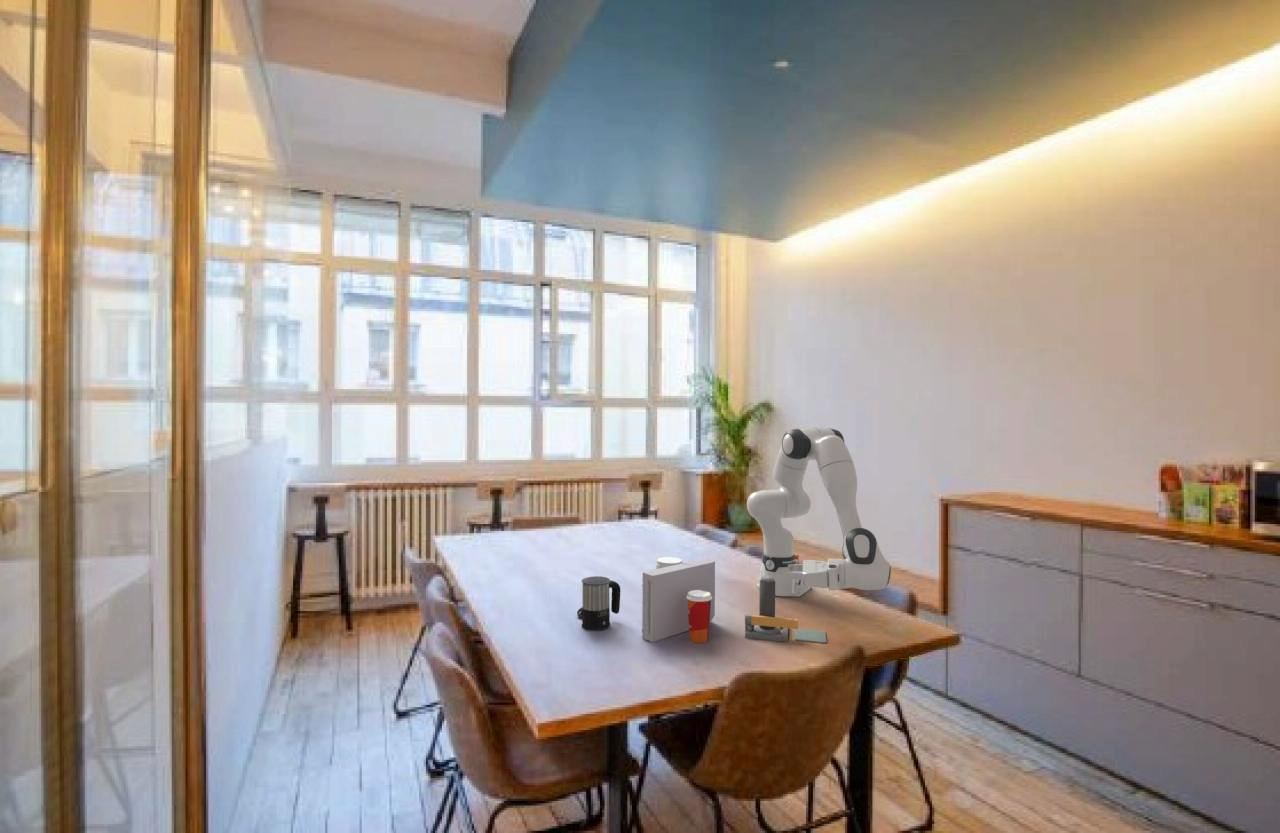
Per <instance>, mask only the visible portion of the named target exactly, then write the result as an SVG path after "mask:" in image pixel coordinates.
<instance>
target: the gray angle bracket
mask: <svg viewBox="0 0 1280 833" xmlns="http://www.w3.org/2000/svg"><path fill="white" fill-rule="evenodd" d="M752 628H754V625H752ZM780 629H782V634H781V633H780V634H769V633H759V632H754V631H752V632H751V631H745V630H744V638H747V639H748V638H749V639H754V640H755V639H757V640H758V639H759V640H764V641H765V640H768V641H776V642H777V641H778V642H788V639H789V638H788V636H789V635H788V634H789V628H781V627H780Z"/></svg>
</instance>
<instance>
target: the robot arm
mask: <svg viewBox="0 0 1280 833" xmlns="http://www.w3.org/2000/svg"><path fill="white" fill-rule="evenodd" d="M812 460H813V461H815V460H816V463H817V468H818V472H819V475H820V478H821V480H822V481H821V482H822V483H823V484H824V487H825V490H826V491H827V493H828V496H829V498H830V499H831V502H832V504H833V505H834V506H833V507H834V508H835V512H836V514H837V518H838V521H839V525H840V528H841V533H842V538H843V544H842V548H841V549H842V550H841V553H842V557H843V558H833V557H832V558H830V557H829V558H827V561H824V560H816V559H815V560H814V559H804V560H803V561H802V563H797V562H796V560H797V561H798V560H799V559H800V554H798V553H796V554H795V553H794V536H793V533H792V532H791V531H790V530H789V529H787V528H785V527H784V526H783V524H782V519H792V518H793V519H795V518H800V517H802V516H805V515H807V514H808V513H809V512H810V508H811V498H810V496H809V494H808V493H807V492H806V491H805V490H804V488H803V481H804V478H805V474H806V470H807V468H808V463H809V461H812ZM856 472H857V471H856V466H855V464H854V461H853V458H852V455H851V453H850V451H849V449H848V447H847V445H846V443H845V439H844V436H843V434H842V432H840V431H839V430H838V429H834V428H830V427H828V428H823V427H811V428H809V427H807V428H800V429H799V428H792V429H790V430H787V431H785V433H784V434H783V436H782V439H781V447H780V449H779V452H778V454H777V458H776V460H775V464H774V467H773V471H772V476H773V480H774V481H775V483H777V484H778V486H780V487H779V488H778V489H764V490H763V489H762V490H759V491H754V492H752V493H750V495H749V496H748V498H747V500H746V509H747V511H748V513H749V515H750V516H751V517H752V518H753V519H754V520H755V521H756V522H757V523H758V525H759V526H760V528H761V532H762V537H763V538H762V539H763V553H762V557H761V558H762V565H761V566H760V568H759V570H760V571H759V578H758V579H759V581H758V583H756V587H757V588H758V591H760V580H761V577H762V576H770V577H773V578H774V581H775V597H797V598H798V597H801V596H803V595H804V594H806V593H807V592H809V590H811V589H812V588H822V589H828V590H829V591H837V590H838V589H858V590H860V591H861V590H864V591H866V590H867V591H875V590H884V589H885V588H886V587H887V586H888V585H889V583H890V579H891V573H892V569H891V568H892V567H891V564H890V563H889V562H888V560H887V559H886V558H885V556H884V555H883V553H882V551H881V549H880V546H879V543H878V540H877V539H876V536H875V535H874V534H873V532H872V531H870V530H869V529H867V528H863V527H862V524H861V520H860V517H859V512H858V510H857V490H858V478H857V473H856Z"/></svg>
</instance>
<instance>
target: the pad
mask: <svg viewBox="0 0 1280 833" xmlns="http://www.w3.org/2000/svg"><path fill="white" fill-rule="evenodd" d="M794 630H795V631H794V633H795V634H794V635H795V636H794V637H795V638H794V640H795V641H798V642H807V643H809V642H810V643H819V644H827V635H826V631H825V630H813V629H803V628H798V629H794Z"/></svg>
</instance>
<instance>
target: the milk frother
mask: <svg viewBox="0 0 1280 833" xmlns="http://www.w3.org/2000/svg"><path fill="white" fill-rule="evenodd" d="M581 583H582V607H580V608H579V609H578V610H577V612H576V615H577V617H578V618H580V619H582V621H581V622H582V623H581V628H582V629H584V630H586V631H594V632H595V631H596V632H597V631H604V630H607V629H608V628H610V627H611V623H610V622H611V620H610V617H611V616H610V614H611V613H610V611H611V612H612V613H613V614H615V615H618V614H619V613H620V607H621V606H620V605H621V604H620V603H621V586H620V584H619V583H618V582H616V581H614V580H611V579H610V578H608V577H606V576H597V575H595V576H587V577H585V578H583V579H581ZM610 589H611V605H610ZM610 606H611V607H610Z"/></svg>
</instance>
